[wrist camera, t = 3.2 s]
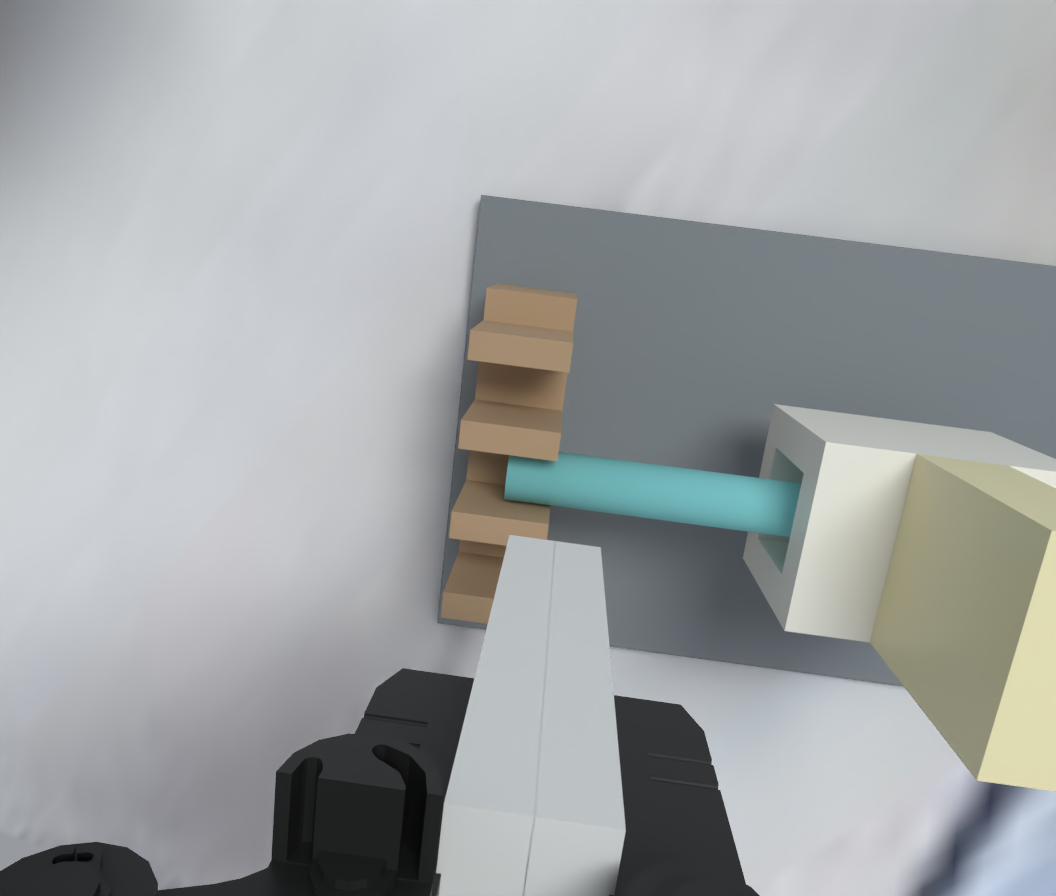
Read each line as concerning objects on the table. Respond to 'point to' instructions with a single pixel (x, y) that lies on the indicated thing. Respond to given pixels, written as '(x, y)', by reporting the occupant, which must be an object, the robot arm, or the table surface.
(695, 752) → the robot arm
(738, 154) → the table surface
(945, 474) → the sliding rod collar
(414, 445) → the table surface
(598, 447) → the cord rig
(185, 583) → the table surface
